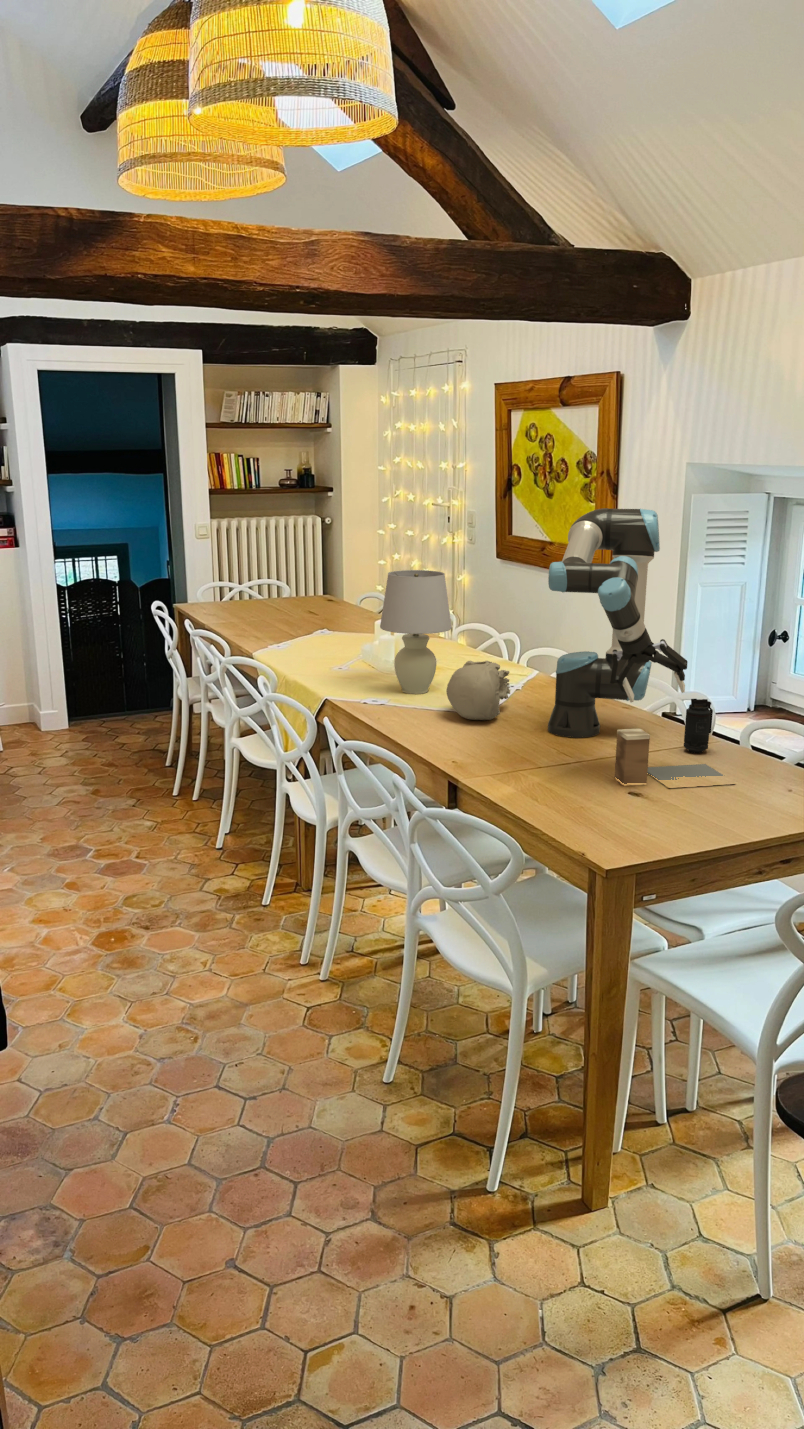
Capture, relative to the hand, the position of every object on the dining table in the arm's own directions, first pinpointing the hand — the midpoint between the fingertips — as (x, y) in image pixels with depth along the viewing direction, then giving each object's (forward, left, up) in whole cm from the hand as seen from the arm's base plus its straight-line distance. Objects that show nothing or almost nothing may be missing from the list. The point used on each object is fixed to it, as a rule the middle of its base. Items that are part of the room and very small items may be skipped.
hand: (657, 694), depth 278 cm
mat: (+13, +4, -19) cm, 23 cm away
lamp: (-92, -44, -19) cm, 104 cm away
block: (+14, -12, -19) cm, 27 cm away
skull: (-56, -32, -19) cm, 68 cm away
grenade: (-8, +17, -19) cm, 27 cm away
